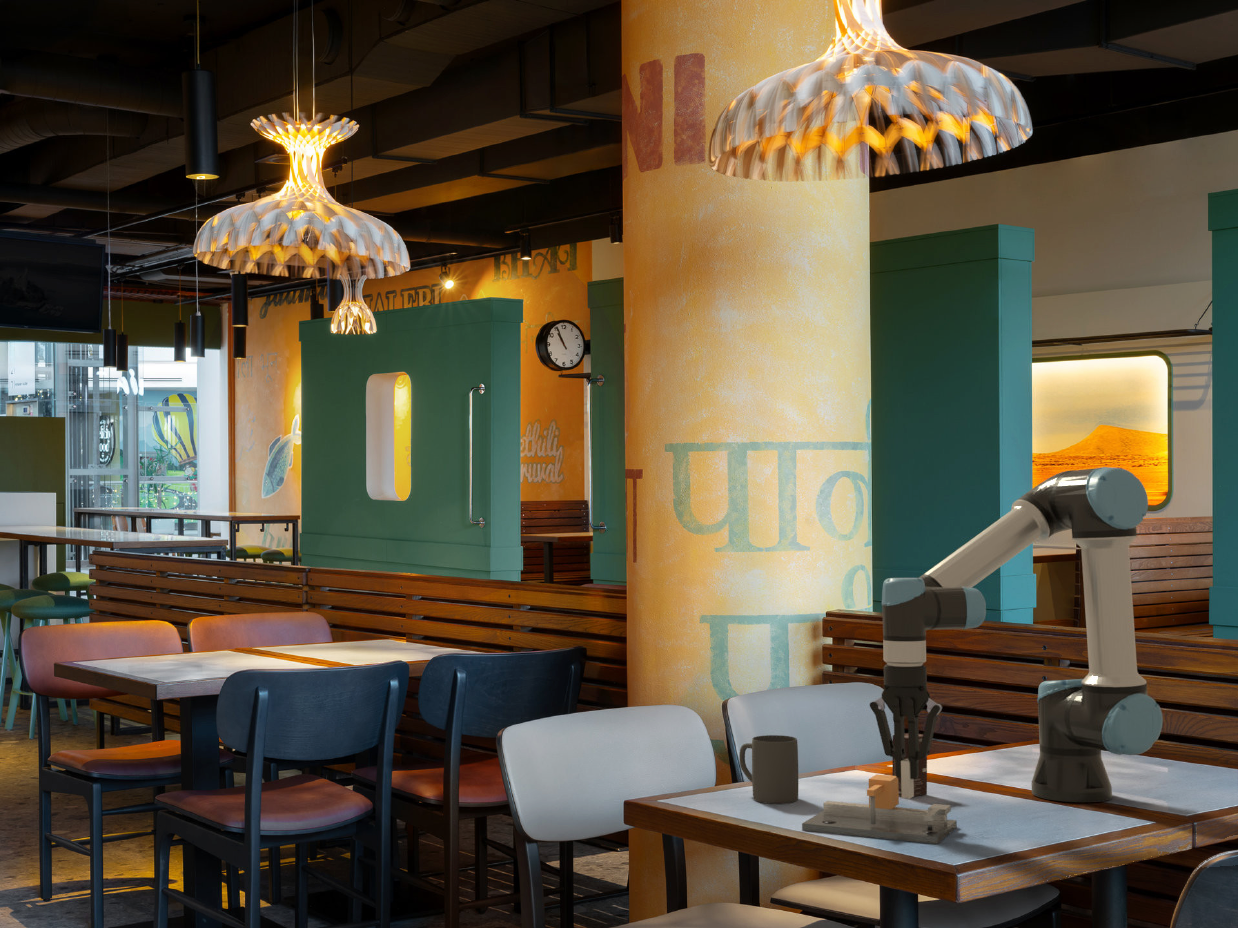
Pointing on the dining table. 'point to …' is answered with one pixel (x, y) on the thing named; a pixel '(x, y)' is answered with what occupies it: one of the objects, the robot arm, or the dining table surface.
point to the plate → (878, 828)
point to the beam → (891, 813)
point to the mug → (772, 768)
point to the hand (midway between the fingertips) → (907, 796)
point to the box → (921, 781)
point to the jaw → (882, 793)
